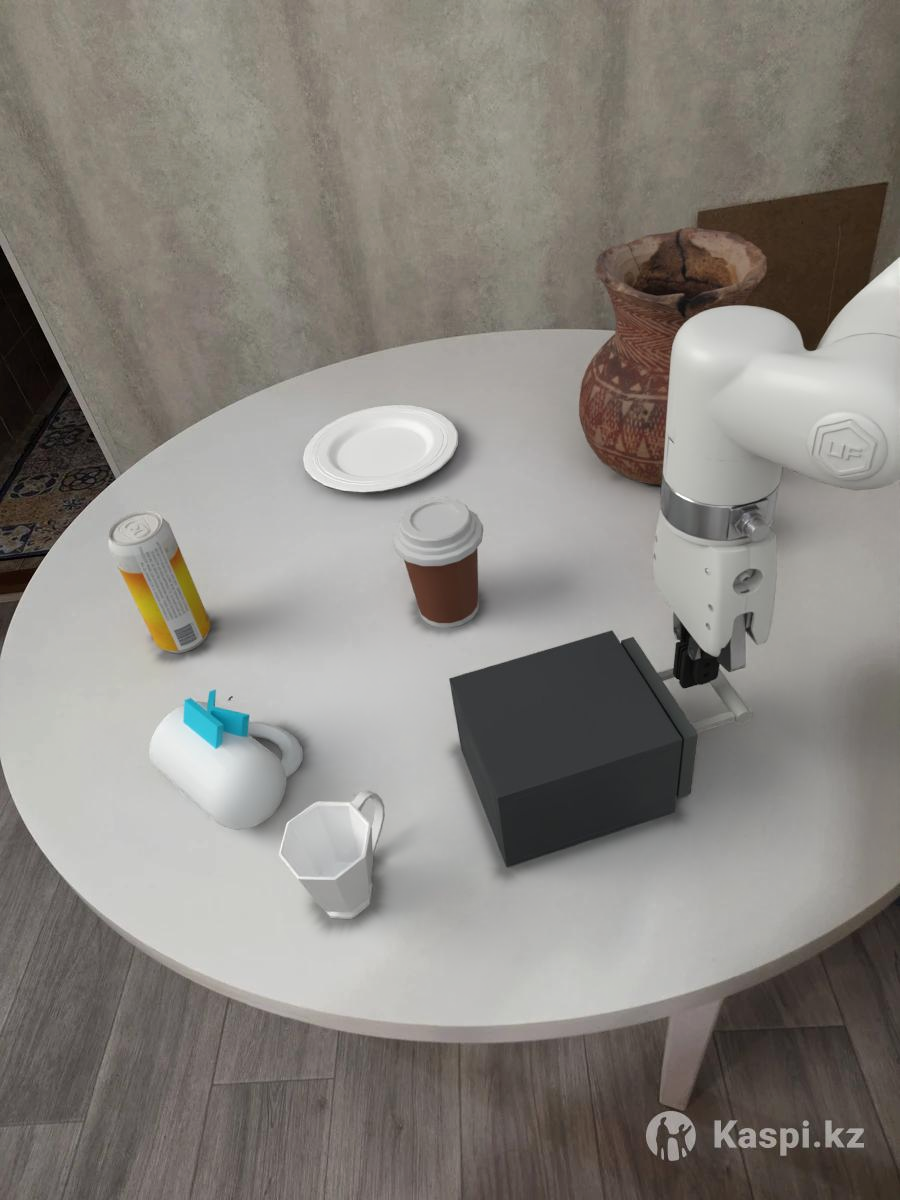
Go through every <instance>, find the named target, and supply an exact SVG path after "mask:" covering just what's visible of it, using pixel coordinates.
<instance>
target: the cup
mask: <svg viewBox="0 0 900 1200" xmlns="http://www.w3.org/2000/svg"><path fill="white" fill-rule="evenodd" d="M370 799H371V800H372V803H373V805H374V817H373V821H372V823H371V822H370V821H369V819H368V818H367V817H366V816H365V815H364V814H363V813H362V812H361V811H362V810H363V808H364V806H365V804H366V802H367V801H369V800H370ZM385 814H386V813H385V804H384V801H383V799H382V798H381V796H379V794H378V793H376V792H374V791H371V790H362V791H360V792H359V794H357V795H356V796H355V797H354V799H353V800H352V801H323V800H322V801H318V800H317V801H315V802H314V803H311V805H309V806H308V807H306V808H305V809H303V810H302V811H301V812H300V813H298V814H297V815H295V816H294V817H293V818H291V819H290V820H288V821H287V822H286V824H285V828H284V833H283V835H282V840H281V843H280V848H279V851H278V856H279V857H280V858H281V860H282V862H283V863H284V864H285V865H286V866H287V867H288V869H289V870H290V871H291V872H292V874H293V875H294V877H296V879H297V880H298V881H299V882H300V884H301V885H302V886H303V888H304V889H305V890H306V891H307V892H308V894H309V895H310V896H311V898H312V899H313V900H314V902H316V904H317V905H318V906H319V907H320V908H322V909H323V910H324V911H325V913H326V914H327V915H328V916H329V917H330V919H342V920H343V919H345V920H346V919H347V920H348V919H349V920H353V919H354V918H355V917H356V916H358V915H360V913H362V912H363V911H364V910H365V909H366V908H368V907H369V906H370V905H371V899H372V893H373V886H374V884H373V882H372V877H373V868H374V854H375V852H376V848H377V846H378V842H379V840H380V837H381V834H382V830H383V826H384V821H385Z"/></svg>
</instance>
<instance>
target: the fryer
mask: <svg viewBox="0 0 900 1200" xmlns="http://www.w3.org/2000/svg"><path fill="white" fill-rule="evenodd" d="M448 681H449V685H450V686H449V687H450V692H451V699H452V704H453V709H454V715H455V721H456V722H455V723H456V727H457V734H458V740H459V744H460V750H461V753H462V757H463V758H464V761H465V763H466V766H467V768H468V771H469V774H470V777H471V779H472V781H473V784H474V786H475V789H476V792H477V795H478V797H479V800H480V802H481V805H482V808H483V810H484V813H485V815H486V818H487V821H488V823H489V826H490V829H491V831H492V833H493V837H494V839H495V842H496V844H497V846H498V849H499V851H500V854H501V858H502V859H503V863H504V865H505V867H506V868H511V867H514V866H517V865H519V864H523V863H526V862H528V861H529V862H530V861H531V860H534V859H537V858H541V857H543V856H546V855H550V854H552V853H553V854H554V853H555V852H559V851H562V850H565V849H568V848H571V847H574V846H578V845H580V844H583V843H585V842H590V841H592V840H595V839H598V838H602V837H604V836H607V835H611V834H614V833H616V832H619V831H624V830H626V829H629V828H632V827H634V826H638V825H641V824H643V823H646V822H650V821H653V820H656V819H658V818H659V819H660V818H661V817H665V816H668V815H671V814H674V813H675V812H676V806H677V805H676V804H677V796H676V795H677V785H678V776H679V766H680V756H681V747H682V738H681V737H680V735H679V733H678V732H677V730H676V729H675V727H674V726H673V724H672V723H671V721H670V719H669V718H668V716H667V715H666V713H665V712H664V710H663V708H662V707H661V705H660V704H659V702H658V701H657V699H656V698H655V696H654V694H653V693H652V691H651V690H650V688H649V687H648V685H647V684H646V682H645V680H644V679H643V677H642V676H641V674H640V673H639V671H638V670H637V668H636V666H635V665H634V663H633V662H632V660H631V659H630V657H629V656H628V654H627V652H626V651H625V649H624V648H623V646H622V645H621V641H620V640H619V638H618V637H617V635H616V634H615V632H614V631H613V629H611V630H609V631H605V632H601V633H598V634H595V635H591V636H587V637H583V638H581V639H578V640H574V641H571V642H568V643H564V644H561V645H557V646H554V647H551V648H547V649H543V650H541V651H537V652H533V653H531V654H527V655H524V656H520V657H517V658H515V659H510V660H506V661H504V662H503V661H502V662H500V663H496V664H494V665H493V664H492V665H490V666H487V667H483V668H480V669H477V670H472V671H470V672H466V673H463V674H460V675H456V676H453V677H449V679H448Z"/></svg>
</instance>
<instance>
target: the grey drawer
mask: <svg viewBox="0 0 900 1200" xmlns="http://www.w3.org/2000/svg"><path fill="white" fill-rule="evenodd" d="M620 643H621V645H622V646H623V648H624V649H625V651H626V652H627V654H628V656H629V657H630V659H631V660H632V662H633V663H634V665H635V666H636V668H637V670H638V671H639V673H640V674H641V676H642V677H643V679H644V680H645V682H646V684H647V685H648V687H649V688H650V690H651V691H652V693H653V694H654V696H655V698H656V699H657V701H658V702H659V704H660V705H661V707H662V708H663V710H664V712H665V713H666V715H667V716H668V718H669V719H670V721H671V723H672V724H673V726H674V727H675V729H676V730H677V732H678V733H679V735H680V737H681V738H682V747H681V756H680V766H679V776H678V785H677V795H676V799H681V798H683V797H686V796H690V795H691V794H692V789H693V782H694V774H695V764H696V756H697V748H698V740H699V733H700V732H703V731H706V730H709V729H712V728H715V727H719V726H722V725H725V724H728V723H732V722H734V721H736V722H737V723H738V724H744V723H747V722H748V721H750V719H752V717H753V712H752V710H751V709H750V707H748V705H747V703H746V702H745V701H744V700H743V698H742V697H741V695H739V693H738V691H737V690H736V688H734V687H733V685H732V683H731V682H730V680H729V679H728V678H727V677H726V675H725V674H724V672H723V671H722V670H721V669H720V668H719V672H718V677H717V678H716V679H715V680H712V681H710V682H708V684H709V685H710V686H711V688H712V689H713V691H714V692H715V693H716V694H717V697H719V699H720V700H721V702H722V703H723V704H724V706H725V707H726V709H727V712H724V713H721V714H717V715H714V716H711V717H707V718H705V719H702V720H699V721H695V722H691V721H690V720H689V718H688V716H687V715H686V714H685V712H684V711H683V709H682V707H681V706H680V704H679V702H678V701H677V700H676V699H675V697H674V695H673V694H672V692H671V691H670V690H669V689H670V688H668V686H667V685H666V683H665V682H664V681H668V680H672V679H674V678H675V676H674V675H673V667H672V668H669V669H666V670H663V671H659V672H658V671H657V670H656V668H655V667H654V666H653V664H652V663H651V660H650V659H649V658H648V656H647V655H646V653H645V652H644V650H643V648H642V647H641V646H640V644H639V643H638V641H637V640H636V638H635V637H634V636H630V637H628V638H624V639H622V640H620Z"/></svg>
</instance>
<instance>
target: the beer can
mask: <svg viewBox="0 0 900 1200" xmlns="http://www.w3.org/2000/svg"><path fill="white" fill-rule="evenodd" d="M107 537H108V542H107V543H108V544H107V548H108V549H109V551H110V554H111V556H112V557H113V559H114V562H115V564H116V567H117V568H118V570H119V572H120V574H121V576H122V578H123V581H124V582H125V585H126V586H127V588H128V590H129V592H130V595H131V596H132V598H133V601H134V602H135V603H134V604H135V605H136V607H137V609H138V611H139V613H140V614H141V617H142V619H143V621H144V623H145V625H146V627H147V629H148V631H149V633H150V635H151V637H152V639H153V641H154V644H155V645H156V646H157V648H159V649H161V650H164V651H167V652H169V653H173V654H181V653H185V652H189V651H192V650H194V649H196V648H197V647H199V646H200V645H201V644H202V643H203V642H204V641H205V639H206V638H207V636H208V633H209V632H210V629H211V620H210V618H209V616H208V613H207V611H206V609H205V606H204V603H203V602H202V599H201V597H200V594H199V591H198V590H197V586H196V584H195V582H194V580H193V577H192V575H191V573H190V570H189V568H188V565H187V564H186V563H187V562H186V560H185V558H184V556H183V554H182V551H181V549H180V547H179V544H178V542H177V539H176V537H175V534H174V532H173V529H172V527H171V525H170V523H169V522H168V521H167V520H166V519H165V518H163V517H162V515H161V514H160V513H158V512H156V511H153V510H139V511H134V512H131V513H128V514H125V515H124V516H122V517H120V518H118V519H117V520H116V521H114V522H113V524H112V525H111V526H110V527H109V529H108V531H107Z"/></svg>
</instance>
